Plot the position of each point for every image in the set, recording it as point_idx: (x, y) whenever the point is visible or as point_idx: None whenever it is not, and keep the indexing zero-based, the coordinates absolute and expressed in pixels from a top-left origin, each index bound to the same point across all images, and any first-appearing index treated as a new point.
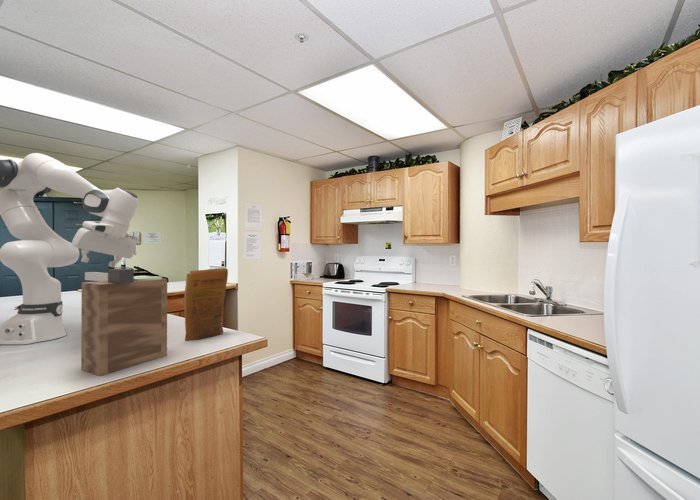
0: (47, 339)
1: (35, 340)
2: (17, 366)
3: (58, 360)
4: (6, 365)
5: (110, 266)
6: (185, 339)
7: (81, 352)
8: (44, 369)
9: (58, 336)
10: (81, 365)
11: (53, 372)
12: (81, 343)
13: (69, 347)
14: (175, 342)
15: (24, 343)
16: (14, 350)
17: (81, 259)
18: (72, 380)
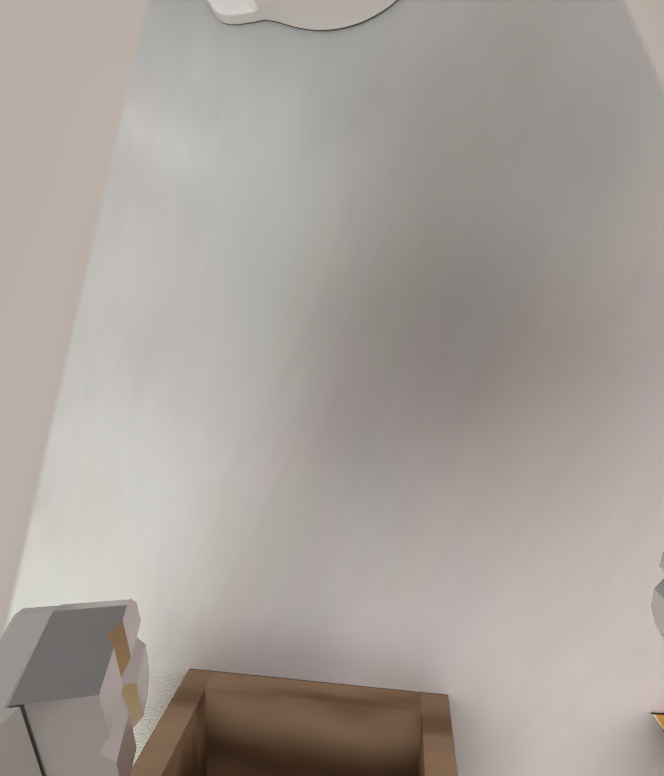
0: (309, 26)
1: (257, 13)
2: (87, 412)
3: (194, 475)
4: (69, 358)
5: (654, 616)
6: (655, 719)
7: (161, 718)
8: (126, 544)
9: (366, 11)
10: (182, 681)
11: None
12: (143, 748)
13: (307, 297)
14: (604, 694)
15: (213, 12)
16: (155, 106)
17: (6, 630)
18: None
